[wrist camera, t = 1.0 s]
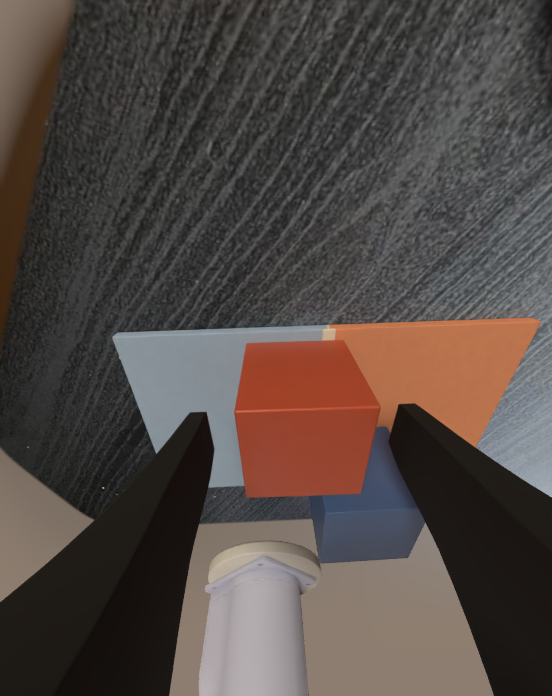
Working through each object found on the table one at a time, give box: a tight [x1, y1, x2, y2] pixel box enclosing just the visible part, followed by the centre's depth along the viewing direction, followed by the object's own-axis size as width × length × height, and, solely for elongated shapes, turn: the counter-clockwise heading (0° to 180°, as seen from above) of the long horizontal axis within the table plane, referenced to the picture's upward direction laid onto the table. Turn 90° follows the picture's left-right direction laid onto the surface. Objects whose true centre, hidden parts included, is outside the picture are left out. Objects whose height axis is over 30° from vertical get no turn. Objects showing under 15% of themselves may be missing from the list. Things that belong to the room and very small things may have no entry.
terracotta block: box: [234, 340, 381, 498], centre depth 10 cm, size 4×4×4 cm
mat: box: [113, 318, 541, 487], centre depth 14 cm, size 19×11×1 cm, turn 91°
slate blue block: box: [309, 427, 425, 563], centre depth 13 cm, size 4×4×4 cm
